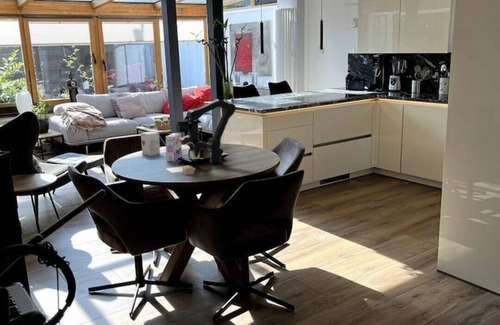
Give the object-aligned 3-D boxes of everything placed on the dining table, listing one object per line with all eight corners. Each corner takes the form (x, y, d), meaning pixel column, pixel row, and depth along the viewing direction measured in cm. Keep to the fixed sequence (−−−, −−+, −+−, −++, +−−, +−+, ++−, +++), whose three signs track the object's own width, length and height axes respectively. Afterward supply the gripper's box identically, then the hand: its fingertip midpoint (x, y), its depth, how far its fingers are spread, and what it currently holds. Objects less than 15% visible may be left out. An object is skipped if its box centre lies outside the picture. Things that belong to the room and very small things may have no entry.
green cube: (196, 157, 288) (196, 149, 287) (199, 158, 284) (199, 151, 283) (189, 157, 286) (189, 150, 285) (192, 159, 282) (192, 152, 281)
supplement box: (141, 154, 323) (140, 132, 319) (152, 152, 330) (150, 131, 326) (150, 156, 317) (148, 134, 314) (160, 153, 324) (159, 132, 320)
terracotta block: (190, 172, 273) (190, 165, 272) (193, 174, 269) (193, 167, 268) (182, 173, 271) (182, 166, 270) (185, 175, 266) (185, 168, 265)
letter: (188, 165, 288) (188, 165, 288) (195, 169, 279) (195, 169, 278) (165, 169, 281) (165, 168, 281) (171, 173, 272) (171, 172, 272)
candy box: (175, 162, 299) (173, 136, 295) (166, 161, 300) (164, 136, 296) (182, 157, 312) (181, 132, 308) (174, 157, 313) (172, 132, 309)
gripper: (175, 130, 285) (176, 155, 289) (186, 134, 269) (187, 161, 273) (192, 128, 291) (193, 153, 294) (204, 132, 275) (205, 158, 278)
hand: (194, 156), depth 285 cm, fingers closed on green cube, 4 cm apart
